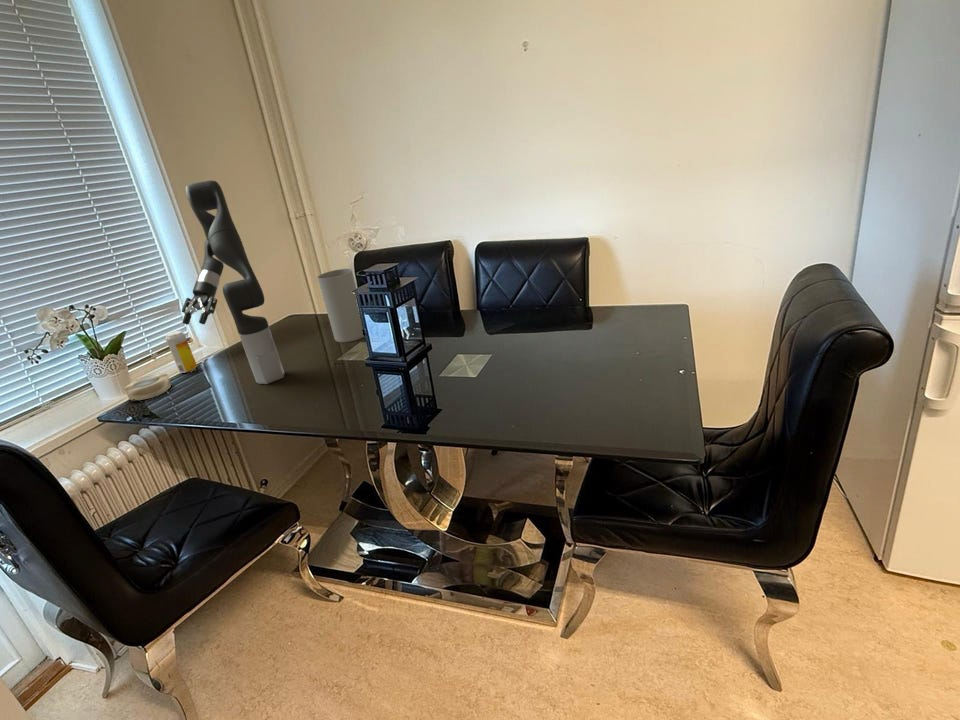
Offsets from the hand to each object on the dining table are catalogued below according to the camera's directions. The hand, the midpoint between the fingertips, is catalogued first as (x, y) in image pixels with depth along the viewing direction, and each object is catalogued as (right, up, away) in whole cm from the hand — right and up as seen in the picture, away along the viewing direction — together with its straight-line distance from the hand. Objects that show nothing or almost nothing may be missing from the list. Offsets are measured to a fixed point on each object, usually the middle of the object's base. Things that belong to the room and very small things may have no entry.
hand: (193, 323), depth 193 cm
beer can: (-1, -18, -1) cm, 18 cm away
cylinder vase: (+57, -5, +6) cm, 58 cm away
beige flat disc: (-6, -25, -16) cm, 30 cm away
